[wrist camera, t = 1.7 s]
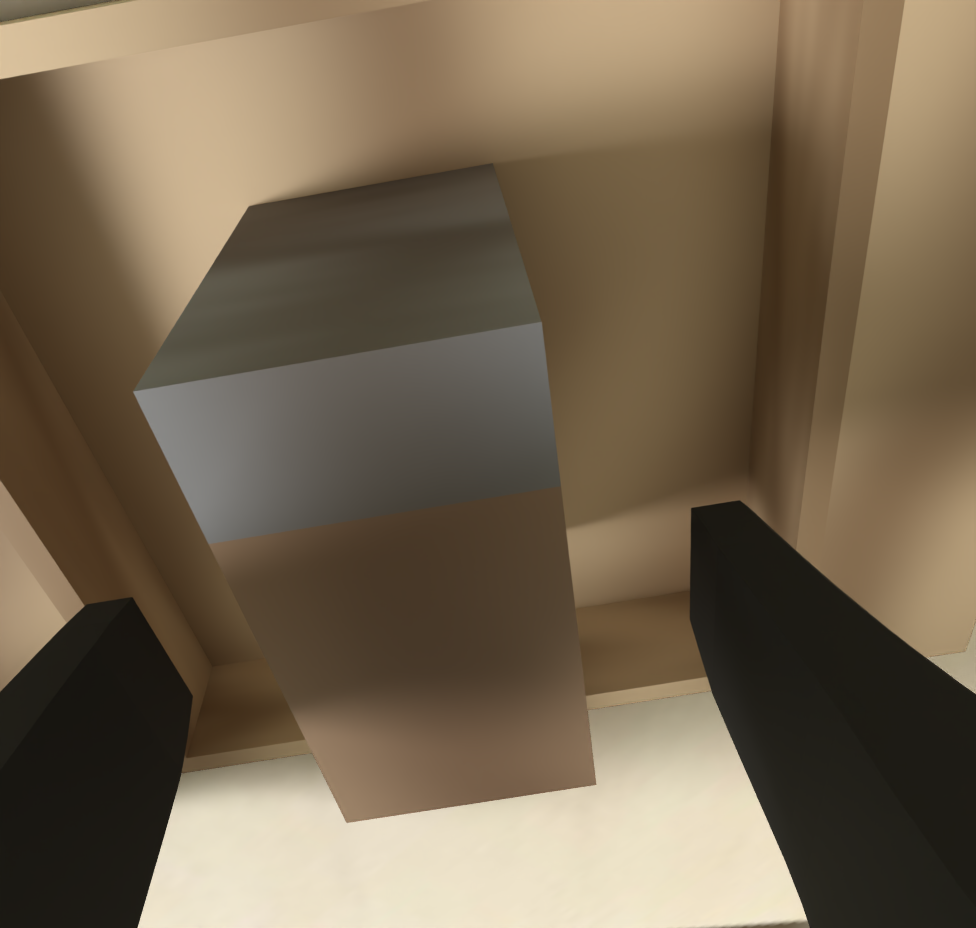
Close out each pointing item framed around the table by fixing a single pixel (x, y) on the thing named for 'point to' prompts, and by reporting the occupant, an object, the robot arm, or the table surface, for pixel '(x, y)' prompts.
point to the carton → (553, 279)
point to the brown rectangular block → (387, 488)
